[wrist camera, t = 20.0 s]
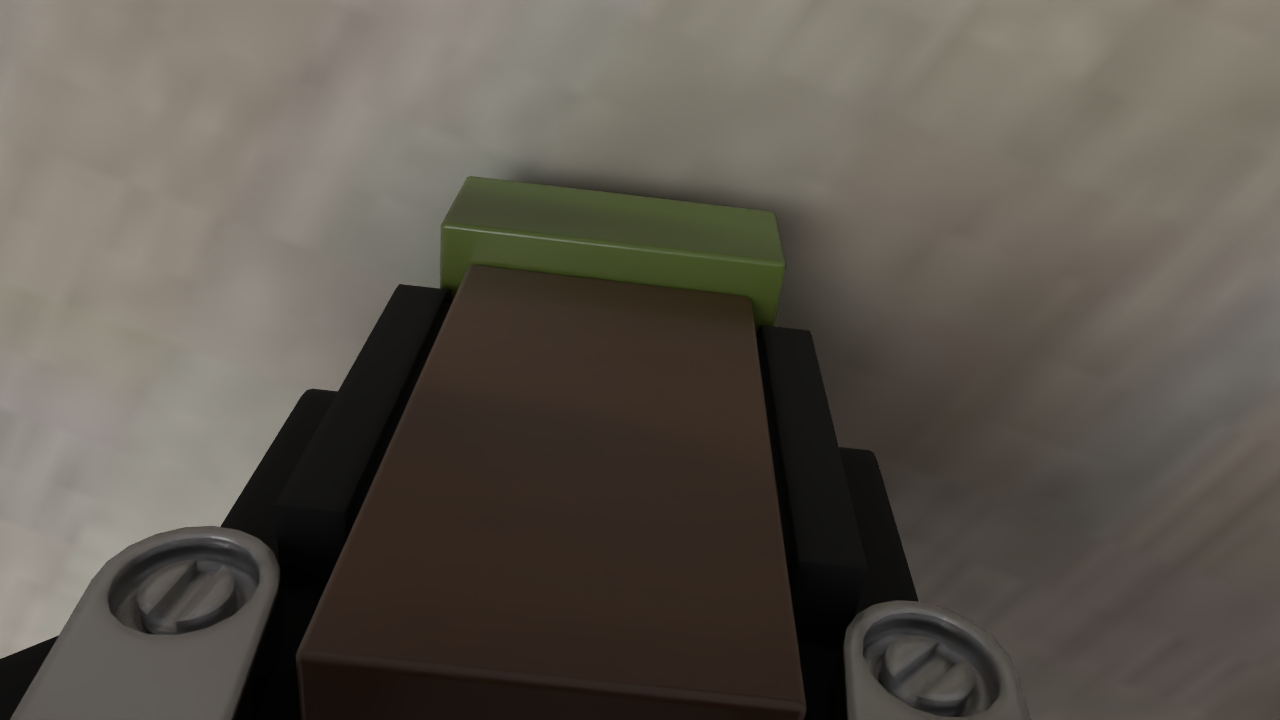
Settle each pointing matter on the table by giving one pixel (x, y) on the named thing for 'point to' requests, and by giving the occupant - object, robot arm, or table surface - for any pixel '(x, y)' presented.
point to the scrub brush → (575, 480)
